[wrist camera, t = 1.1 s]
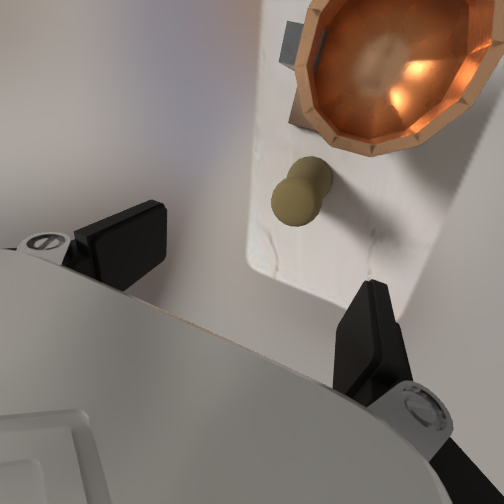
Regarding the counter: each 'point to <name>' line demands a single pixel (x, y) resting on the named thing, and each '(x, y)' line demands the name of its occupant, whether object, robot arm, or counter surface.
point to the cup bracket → (390, 68)
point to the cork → (302, 191)
